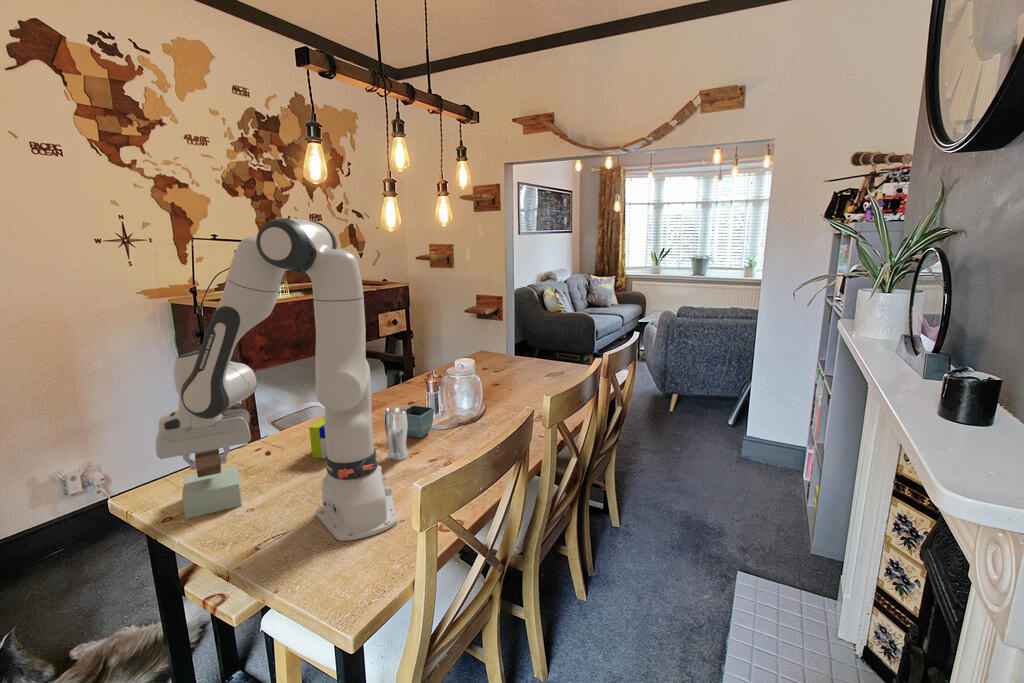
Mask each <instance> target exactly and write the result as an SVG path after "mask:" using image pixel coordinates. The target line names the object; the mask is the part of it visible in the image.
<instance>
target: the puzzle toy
mask: <svg viewBox="0 0 1024 683" xmlns="http://www.w3.org/2000/svg"><path fill="white" fill-rule="evenodd" d="M308 428H309V438H310V447H311V457H312V458H318V459H326V455H327V448H326V437H325V417H323V418H321V419H320V420H318V421H317V422H315V423H314V424H312V425H311V426H309V427H308Z"/></svg>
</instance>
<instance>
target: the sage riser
mask: <svg viewBox="0 0 1024 683" xmlns="http://www.w3.org/2000/svg"><path fill="white" fill-rule="evenodd" d="M183 481H184V482H183V488H182V492H181V493H182V494H181V498H182V505H183V509H184V510H183V512H184V517H185V520H188V519H192V518H196V517H201V516H204V515H208V514H209V515H210V514H212V513H216V512H221V511H225V510H228V509H233V508H237V507H240V506H243V505H242V490H241V481H240V474H239V467H238V465H237V464H236V465H233V466H232V465H231V466H228V467H221V473H218V474H214V475H209V476H204V477H199V478H198V476H197V473H195V474H190V475H185V476H184V480H183Z"/></svg>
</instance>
